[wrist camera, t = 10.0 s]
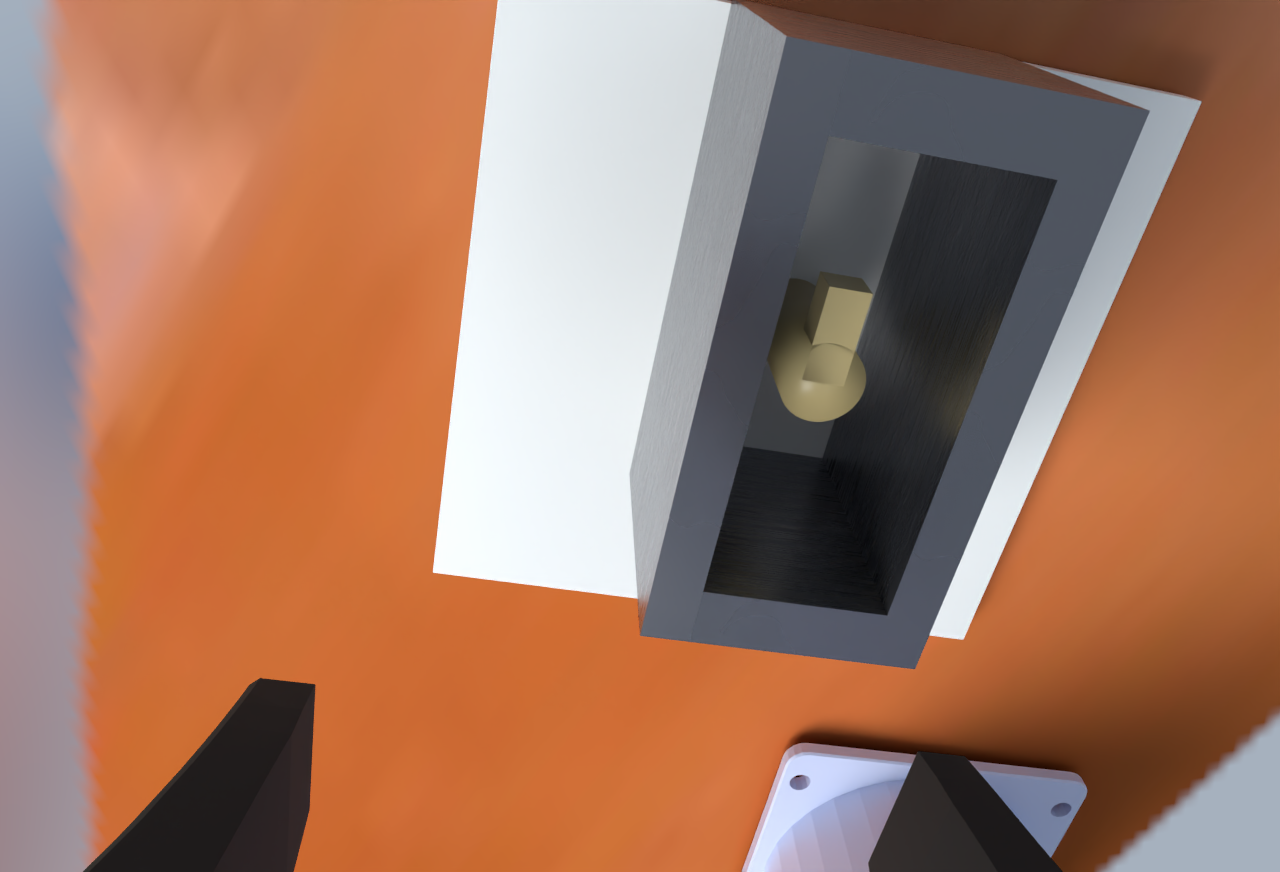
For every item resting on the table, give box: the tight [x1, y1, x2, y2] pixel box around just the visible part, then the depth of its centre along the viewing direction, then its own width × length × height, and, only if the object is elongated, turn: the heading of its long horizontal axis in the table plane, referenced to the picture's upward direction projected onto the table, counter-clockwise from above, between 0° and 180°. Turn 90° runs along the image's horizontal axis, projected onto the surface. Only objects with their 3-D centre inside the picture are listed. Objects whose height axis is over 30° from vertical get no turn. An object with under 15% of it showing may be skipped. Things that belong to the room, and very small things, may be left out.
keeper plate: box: [433, 0, 1202, 640], centre depth 18 cm, size 12×12×4 cm
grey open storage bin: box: [629, 0, 1150, 669], centre depth 16 cm, size 9×5×5 cm, turn 169°
